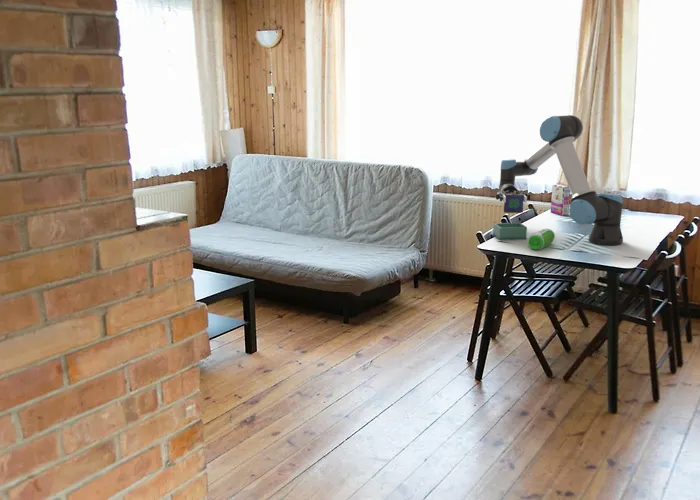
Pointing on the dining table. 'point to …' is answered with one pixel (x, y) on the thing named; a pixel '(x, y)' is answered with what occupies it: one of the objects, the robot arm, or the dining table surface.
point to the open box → (509, 231)
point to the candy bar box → (560, 199)
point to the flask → (514, 203)
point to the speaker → (541, 239)
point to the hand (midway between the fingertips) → (515, 199)
